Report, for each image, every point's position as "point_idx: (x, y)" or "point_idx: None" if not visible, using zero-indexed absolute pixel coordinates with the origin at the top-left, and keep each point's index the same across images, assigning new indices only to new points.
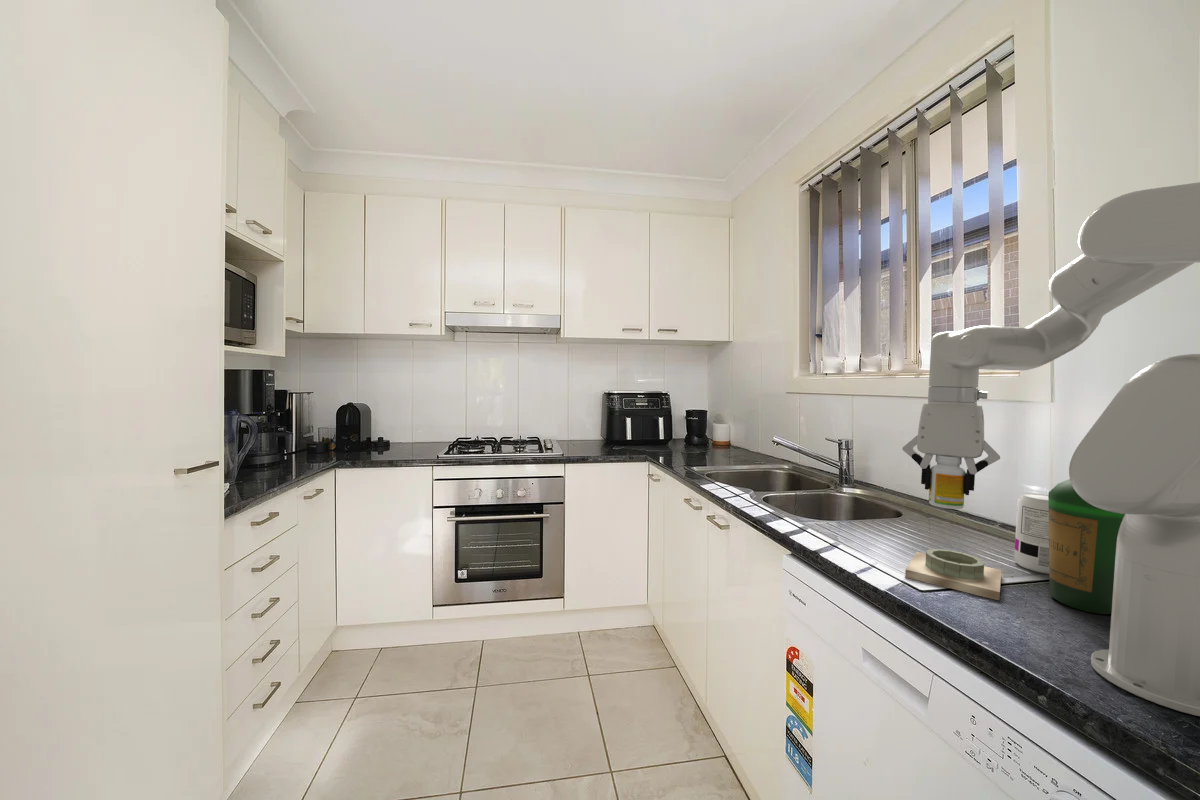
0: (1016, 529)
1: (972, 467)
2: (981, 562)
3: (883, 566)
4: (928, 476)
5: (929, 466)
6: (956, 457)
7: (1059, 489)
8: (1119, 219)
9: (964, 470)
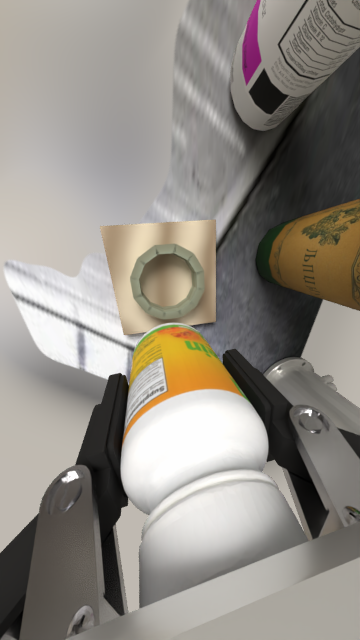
0: (274, 9)
1: (312, 491)
2: (201, 277)
3: (89, 314)
4: None
5: (120, 513)
6: None
7: None
8: None
9: (268, 447)
